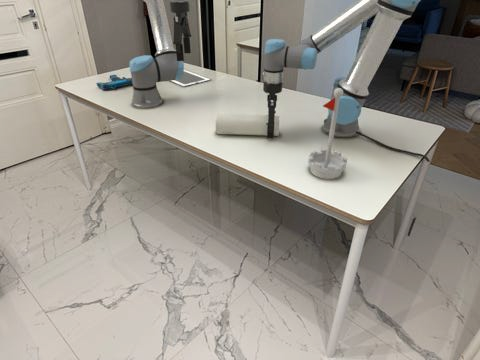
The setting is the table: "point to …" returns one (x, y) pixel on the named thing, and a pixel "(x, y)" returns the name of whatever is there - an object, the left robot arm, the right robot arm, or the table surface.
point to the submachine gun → (115, 82)
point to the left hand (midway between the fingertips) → (184, 56)
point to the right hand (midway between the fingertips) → (270, 133)
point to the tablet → (190, 79)
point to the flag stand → (329, 148)
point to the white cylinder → (244, 124)
